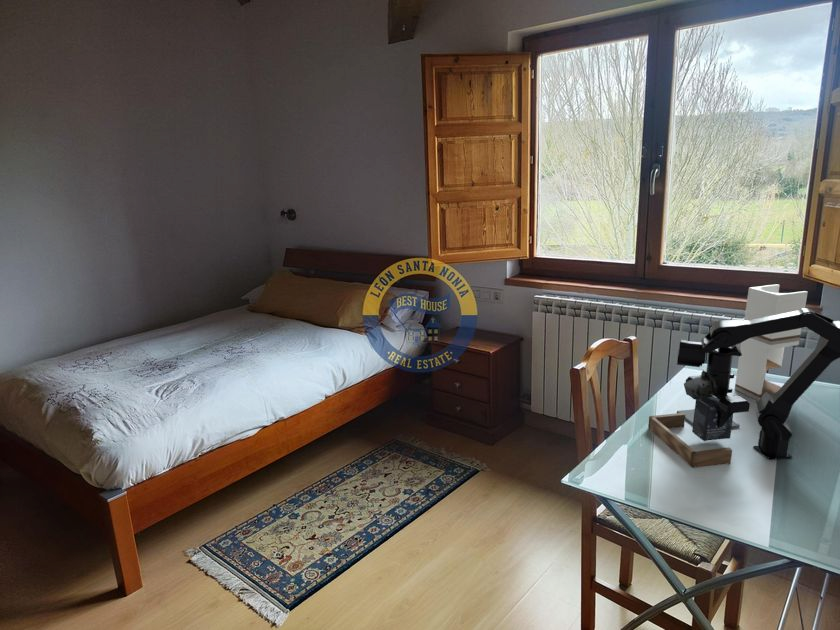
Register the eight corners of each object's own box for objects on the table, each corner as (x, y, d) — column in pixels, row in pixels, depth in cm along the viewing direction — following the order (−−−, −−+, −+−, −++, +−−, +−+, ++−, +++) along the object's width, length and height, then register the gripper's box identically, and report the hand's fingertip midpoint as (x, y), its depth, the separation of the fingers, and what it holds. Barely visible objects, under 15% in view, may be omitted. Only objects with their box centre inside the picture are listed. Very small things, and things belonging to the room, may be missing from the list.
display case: (761, 402, 177) (778, 295, 167) (734, 389, 187) (748, 287, 177) (789, 396, 180) (807, 291, 170) (761, 384, 190) (777, 284, 180)
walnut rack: (730, 463, 144) (732, 449, 143) (692, 467, 142) (694, 453, 141) (681, 425, 164) (683, 412, 163) (648, 428, 163) (649, 416, 162)
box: (704, 442, 150) (708, 405, 147) (691, 432, 155) (695, 397, 153) (731, 438, 151) (735, 402, 148) (717, 429, 156) (721, 394, 154)
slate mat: (739, 427, 162) (739, 425, 161) (700, 431, 160) (701, 429, 160) (712, 409, 173) (713, 407, 173) (676, 413, 171) (676, 410, 171)
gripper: (670, 359, 156) (665, 410, 160) (713, 385, 138) (707, 442, 142) (707, 355, 157) (701, 406, 161) (754, 381, 139) (747, 437, 144)
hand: (712, 422), depth 152 cm, fingers closed on box, 6 cm apart
